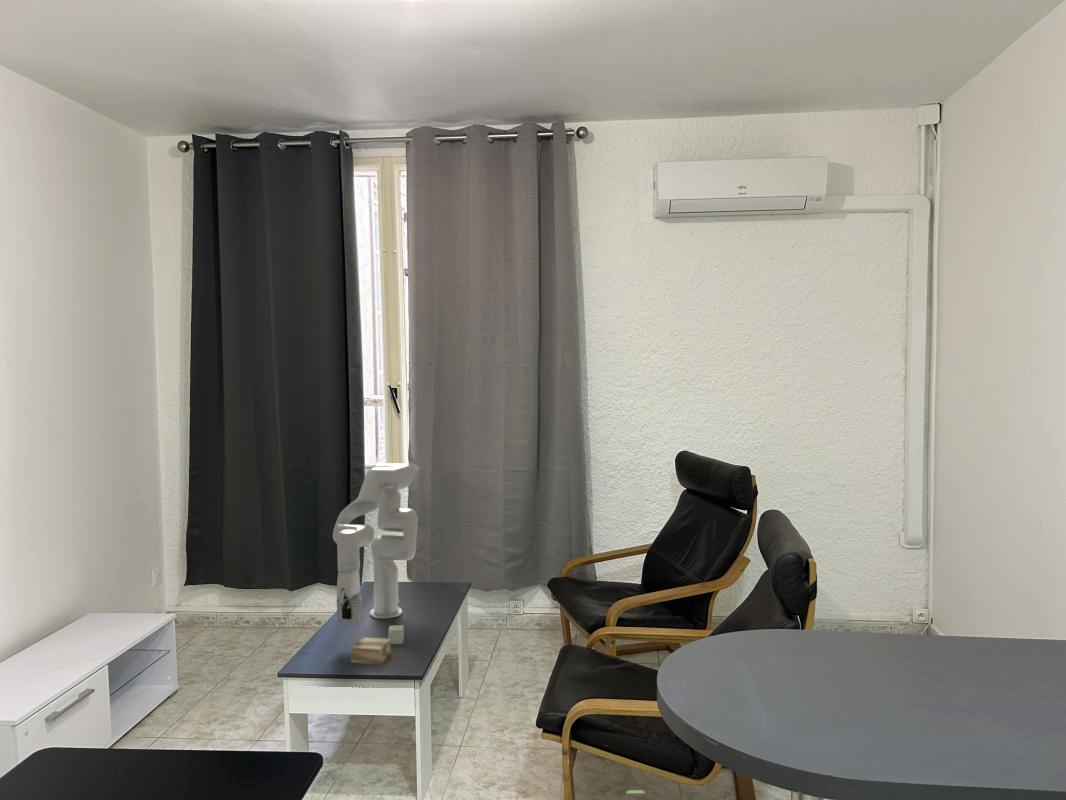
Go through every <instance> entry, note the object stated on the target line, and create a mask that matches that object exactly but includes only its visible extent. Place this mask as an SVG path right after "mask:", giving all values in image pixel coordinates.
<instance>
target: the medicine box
mask: <svg viewBox="0 0 1066 800" xmlns="http://www.w3.org/2000/svg"><path fill="white" fill-rule="evenodd" d="M347 598H348V597H345V599H347ZM339 601H340V600H338V599H337V598H336V622H337V623H352V624H354V623H355V624H359V623H360V622H361V621H362V620H363V618H364V617H363V596H362V595H361V594H358V595H355V596H354V597H353V598H352V599H351V602H350V608H351V619H343V618H342V608H341V604H339ZM345 602H347V604H348V601H345Z"/></svg>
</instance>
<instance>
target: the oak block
mask: <svg viewBox="0 0 1066 800" xmlns="http://www.w3.org/2000/svg"><path fill="white" fill-rule="evenodd" d="M350 651H351V652H350V655H351V658H350V662H351V663H352V664H354V663H355V664H364V665H377V666H378V665H379V666H380V665H381V664H382V663H383V662H384V661H385V660H386V659H387V658H388V657H389V656H390V654H391V653H392V652H391V644H390V639H388V638H381V637H368V636H367V637H366V636H365V637H364V636H363V637H361V638H360V639H359V640H358V641H357V642H356V643H355V644H354V645H352V646H351V649H350Z"/></svg>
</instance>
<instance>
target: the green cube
mask: <svg viewBox="0 0 1066 800" xmlns="http://www.w3.org/2000/svg"><path fill="white" fill-rule="evenodd" d="M404 627H405V626H404V624H403V625H402V624H400V625H398V624H397V625H389V627H388V634H387V636H388V637H387V639H390V645H402V644H403V643H404V637H405V634H404V631H405V630H404Z"/></svg>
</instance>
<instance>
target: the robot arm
mask: <svg viewBox="0 0 1066 800" xmlns="http://www.w3.org/2000/svg"><path fill="white" fill-rule="evenodd" d="M414 479H415V469H414V467H413V466H412V465H411V464H408V463H376V464H374V465H372V467H371V468H370V469H368V471H367V472H366V475H365V477H364V479H363V483H362V485H361V488H360V489H359V490H360V491H359V494H358V496H357V498H356V499H355V500H353V501H352V502H350V503H349V504H348V505H347V506H346V507H344V508H343V510H341V512H340V513H339V515H338V516H337V519H336V522H335V525H334V527H333V532H332V539H333V542H334V543H336V547H337V548H336V549H337V550H336V551H337V572H338V573H337V581H336V582H337V583H336V600H337V599H338V600H340V601H339V604H341V608H342V618H343V619H351V608H350V602H351V599H352V598H353V597H354V596H355V595H359V593H360V591H361V577H360V576H361V575H360V569H361V559H360V558H361V557H360V556H361V555H360V548H362V547H366V546H369V544H371V545H370V548H371V550H370V551H371V556H372V563H373V608H372V609H371V610H370V611H369V615H370V617H371V618H373V619H382V620H387V619H389V620H390V619H394V618H397V617H400V616H401V615H402V614H403V609H402V608H401V607H399V602H400V598H399V568H398V565H397V564H396V562H395V561H404V562H405V561H411V560H413V559H414V557H415V555H416V551H417V550H416V548H417V539H418V538H417V537H418V525H419V522H418V521H419V519H418V514H417V512H416V511H415V509H414V508H413V509H412V508H407V507H405V508H404V507H401V498H402V497H401V493H400V491H399V490H403V489H405V488H407V487H409V486H410V485H411V484H412V483H413V482H414ZM377 509H378V510H377ZM376 510H377V513H378V514H377V527H378V529H379V530H380V531H382V532H387V533H388V532H389V533H402V534H403V535H395V534H394V535H393V534H391V535H390V534H381V535H377V536H375V531H374V529H373V527H372V526H371V525H368V524H362V523H361V524H359V523H351V522H352V521H353V520H354V519H357V518H358V517H361V516H363V515H366V514H369V513H370V512H371V513H372V512H373V511H376ZM345 597H348V598H347V599H345ZM345 601H348V604H347V602H345Z"/></svg>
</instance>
